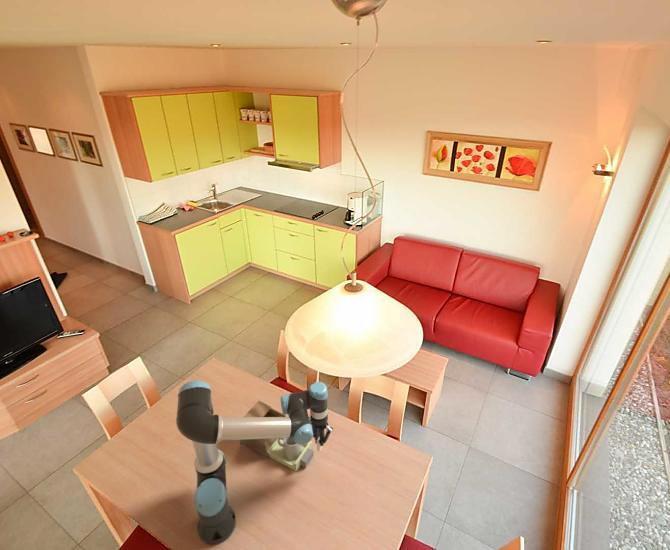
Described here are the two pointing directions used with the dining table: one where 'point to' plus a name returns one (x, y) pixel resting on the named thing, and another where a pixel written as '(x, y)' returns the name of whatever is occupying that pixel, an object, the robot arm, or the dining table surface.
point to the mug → (290, 448)
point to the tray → (303, 459)
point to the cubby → (261, 444)
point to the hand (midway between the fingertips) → (319, 448)
